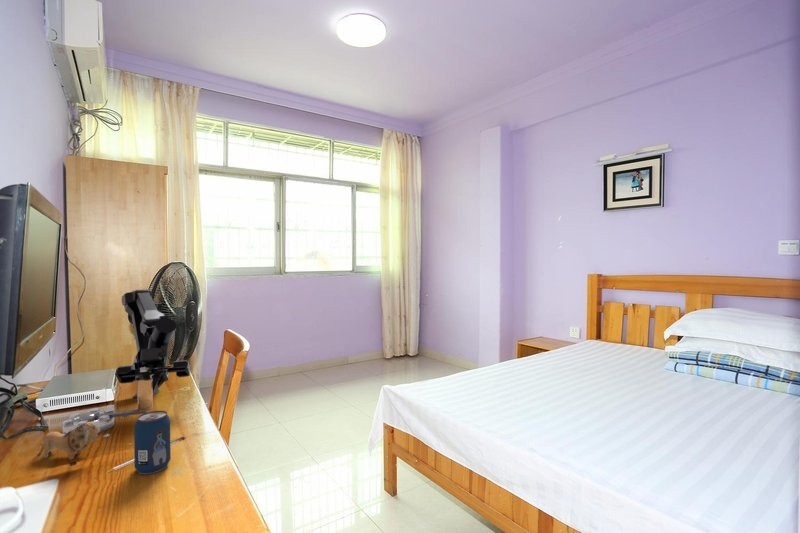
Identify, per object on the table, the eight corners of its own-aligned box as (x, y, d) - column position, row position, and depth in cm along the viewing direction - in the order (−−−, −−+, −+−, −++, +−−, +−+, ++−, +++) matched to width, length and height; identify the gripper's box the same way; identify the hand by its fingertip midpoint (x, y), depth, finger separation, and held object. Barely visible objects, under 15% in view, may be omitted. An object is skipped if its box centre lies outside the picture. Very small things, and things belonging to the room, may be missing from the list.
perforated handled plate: (55, 440, 99) (54, 394, 99) (71, 423, 110) (71, 382, 109) (148, 427, 107) (148, 385, 107) (156, 412, 117) (156, 374, 117)
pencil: (184, 440, 103) (184, 437, 103) (106, 475, 86) (106, 472, 86) (182, 439, 103) (182, 437, 103) (103, 474, 87) (103, 471, 87)
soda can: (148, 459, 93) (147, 409, 92) (177, 460, 92) (176, 409, 92) (126, 475, 86) (126, 421, 86) (158, 476, 86) (157, 421, 85)
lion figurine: (104, 454, 95) (104, 417, 95) (88, 466, 90) (88, 427, 90) (40, 456, 94) (40, 419, 94) (20, 468, 89) (20, 428, 89)
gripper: (115, 339, 115) (103, 388, 105) (187, 334, 121) (182, 380, 111) (125, 359, 123) (114, 407, 112) (192, 353, 129) (187, 398, 119)
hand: (150, 397), depth 114 cm, fingers closed, pressing on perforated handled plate
